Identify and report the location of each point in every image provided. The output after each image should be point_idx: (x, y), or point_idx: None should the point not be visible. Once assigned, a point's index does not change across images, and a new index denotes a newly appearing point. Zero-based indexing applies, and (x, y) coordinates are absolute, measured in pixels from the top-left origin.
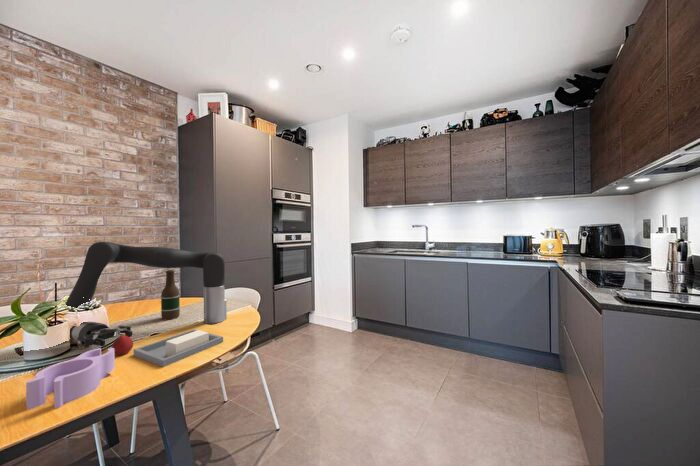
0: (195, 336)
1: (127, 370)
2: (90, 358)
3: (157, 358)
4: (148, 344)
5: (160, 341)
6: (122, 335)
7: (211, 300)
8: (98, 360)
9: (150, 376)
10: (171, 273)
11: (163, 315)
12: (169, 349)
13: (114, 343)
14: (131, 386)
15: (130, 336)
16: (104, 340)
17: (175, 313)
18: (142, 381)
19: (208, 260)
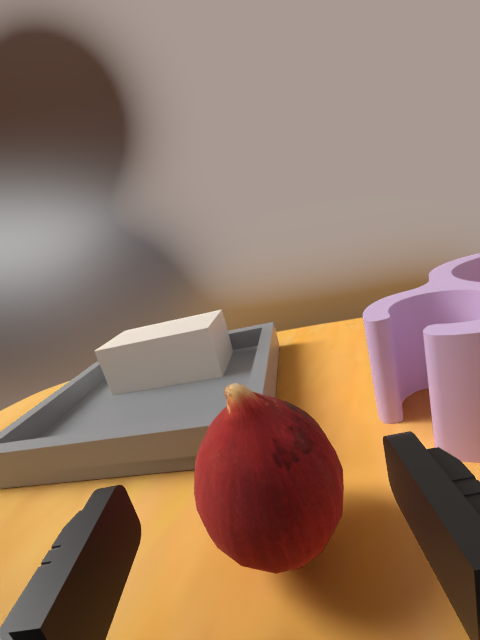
0: (156, 325)
1: (341, 382)
2: (467, 283)
3: (272, 332)
4: (183, 428)
5: (139, 425)
6: (248, 392)
7: None
8: (432, 276)
9: (314, 338)
10: None
11: None
12: (220, 343)
13: (320, 433)
14: (362, 326)
15: (134, 529)
16: (387, 437)
17: None
18: (337, 331)
19: None
